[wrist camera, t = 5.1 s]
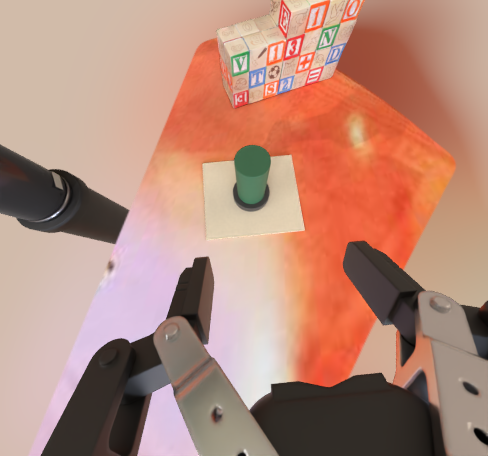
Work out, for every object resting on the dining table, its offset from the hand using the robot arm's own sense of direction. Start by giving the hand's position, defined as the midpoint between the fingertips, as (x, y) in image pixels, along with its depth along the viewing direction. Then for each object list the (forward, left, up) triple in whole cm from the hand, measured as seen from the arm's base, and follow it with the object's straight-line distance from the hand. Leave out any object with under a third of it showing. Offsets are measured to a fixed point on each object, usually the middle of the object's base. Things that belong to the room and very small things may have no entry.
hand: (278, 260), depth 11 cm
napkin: (0, +12, -19) cm, 23 cm away
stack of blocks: (+8, +36, -19) cm, 42 cm away
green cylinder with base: (0, +12, -19) cm, 22 cm away
